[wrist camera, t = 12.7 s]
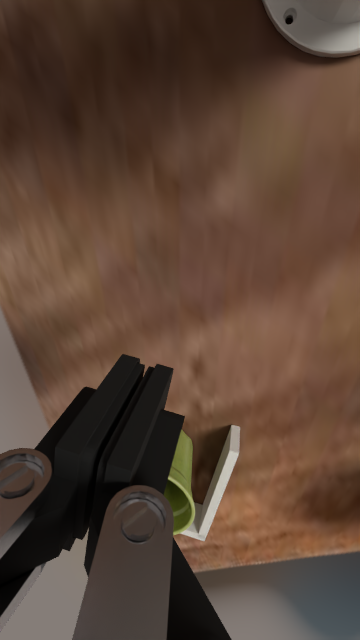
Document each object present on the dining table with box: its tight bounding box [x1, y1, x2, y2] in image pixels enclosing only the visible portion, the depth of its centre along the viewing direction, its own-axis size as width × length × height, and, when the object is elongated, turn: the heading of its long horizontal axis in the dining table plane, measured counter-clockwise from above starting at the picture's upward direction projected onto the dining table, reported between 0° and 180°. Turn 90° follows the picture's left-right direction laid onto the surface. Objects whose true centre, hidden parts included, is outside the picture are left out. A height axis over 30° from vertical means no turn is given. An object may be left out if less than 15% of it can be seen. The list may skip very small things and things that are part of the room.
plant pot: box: [164, 429, 195, 535], centre depth 37 cm, size 9×9×9 cm
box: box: [181, 425, 240, 541], centre depth 40 cm, size 16×16×4 cm
